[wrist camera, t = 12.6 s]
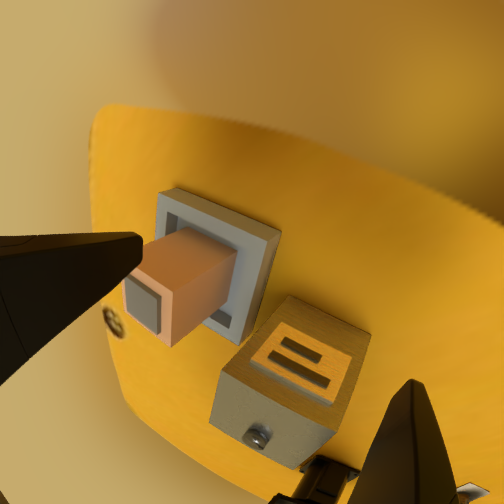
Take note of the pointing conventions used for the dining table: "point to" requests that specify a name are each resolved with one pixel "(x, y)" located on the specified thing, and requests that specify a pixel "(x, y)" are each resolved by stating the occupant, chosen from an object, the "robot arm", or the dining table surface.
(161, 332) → the block
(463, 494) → the condiment
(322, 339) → the junction box
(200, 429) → the dining table surface
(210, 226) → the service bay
